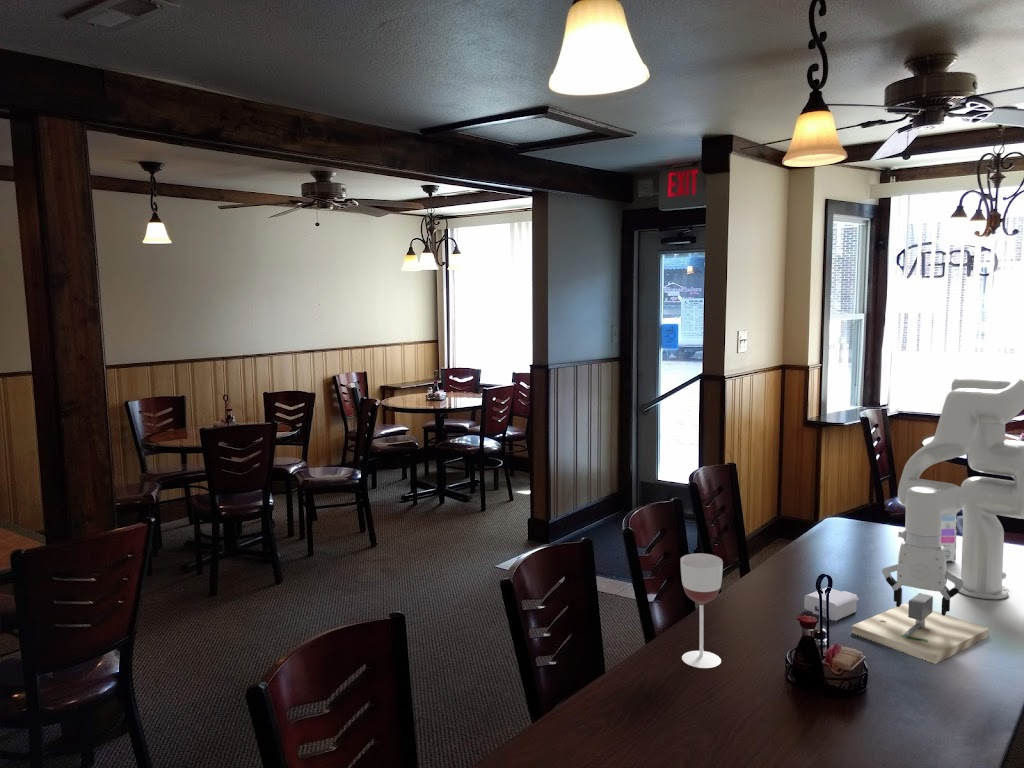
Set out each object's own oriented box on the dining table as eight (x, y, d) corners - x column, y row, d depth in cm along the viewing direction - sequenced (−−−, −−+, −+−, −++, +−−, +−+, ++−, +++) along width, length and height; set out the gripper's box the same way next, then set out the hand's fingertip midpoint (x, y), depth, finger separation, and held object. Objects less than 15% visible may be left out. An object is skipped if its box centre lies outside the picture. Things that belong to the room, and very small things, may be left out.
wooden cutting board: (906, 609, 199) (906, 602, 198) (989, 636, 182) (989, 627, 182) (851, 633, 185) (851, 625, 185) (935, 664, 169) (935, 655, 169)
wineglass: (723, 652, 177) (724, 555, 175) (720, 671, 168) (721, 569, 166) (683, 647, 180) (683, 551, 178) (678, 666, 171) (677, 565, 169)
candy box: (956, 562, 233) (958, 509, 231) (937, 563, 233) (938, 510, 231) (932, 548, 247) (934, 498, 245) (913, 548, 247) (915, 498, 245)
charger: (869, 608, 201) (836, 622, 192) (837, 597, 209) (804, 611, 200) (870, 590, 201) (837, 604, 192) (837, 580, 208) (804, 593, 199)
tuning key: (918, 619, 187) (919, 592, 186) (932, 623, 185) (932, 596, 184) (899, 635, 178) (899, 607, 178) (912, 639, 176) (913, 611, 176)
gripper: (879, 538, 184) (878, 607, 185) (963, 550, 173) (960, 622, 175) (886, 530, 190) (884, 596, 191) (967, 541, 179) (964, 611, 181)
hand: (921, 609), depth 183 cm, fingers open, 9 cm apart
